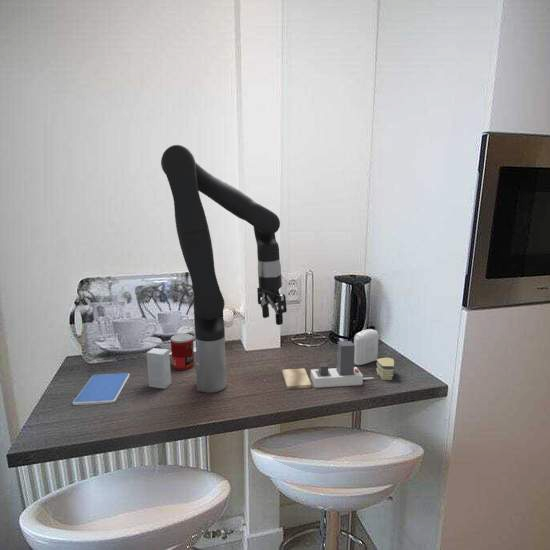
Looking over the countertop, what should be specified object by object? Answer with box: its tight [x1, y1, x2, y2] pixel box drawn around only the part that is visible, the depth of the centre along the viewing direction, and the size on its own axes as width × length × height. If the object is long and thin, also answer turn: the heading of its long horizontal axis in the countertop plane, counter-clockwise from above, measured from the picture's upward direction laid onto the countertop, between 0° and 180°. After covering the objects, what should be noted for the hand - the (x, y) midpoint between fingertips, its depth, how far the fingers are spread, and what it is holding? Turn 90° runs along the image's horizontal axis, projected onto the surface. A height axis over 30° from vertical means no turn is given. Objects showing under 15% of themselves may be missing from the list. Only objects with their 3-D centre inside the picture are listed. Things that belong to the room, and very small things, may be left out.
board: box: [281, 368, 313, 390], centre depth 133 cm, size 8×12×1 cm, turn 7°
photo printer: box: [353, 328, 380, 366], centre depth 146 cm, size 10×4×12 cm, turn 123°
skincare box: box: [146, 347, 172, 390], centre depth 128 cm, size 6×4×12 cm
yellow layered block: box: [375, 357, 395, 381], centre depth 135 cm, size 10×9×6 cm
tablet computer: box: [71, 372, 131, 406], centre depth 128 cm, size 19×13×1 cm, turn 6°
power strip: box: [310, 362, 375, 389], centre depth 131 cm, size 21×6×6 cm, turn 97°
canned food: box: [170, 333, 195, 371], centre depth 143 cm, size 8×8×11 cm
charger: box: [336, 340, 355, 375], centre depth 130 cm, size 4×4×10 cm
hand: (272, 320), depth 131 cm, fingers open, 8 cm apart
